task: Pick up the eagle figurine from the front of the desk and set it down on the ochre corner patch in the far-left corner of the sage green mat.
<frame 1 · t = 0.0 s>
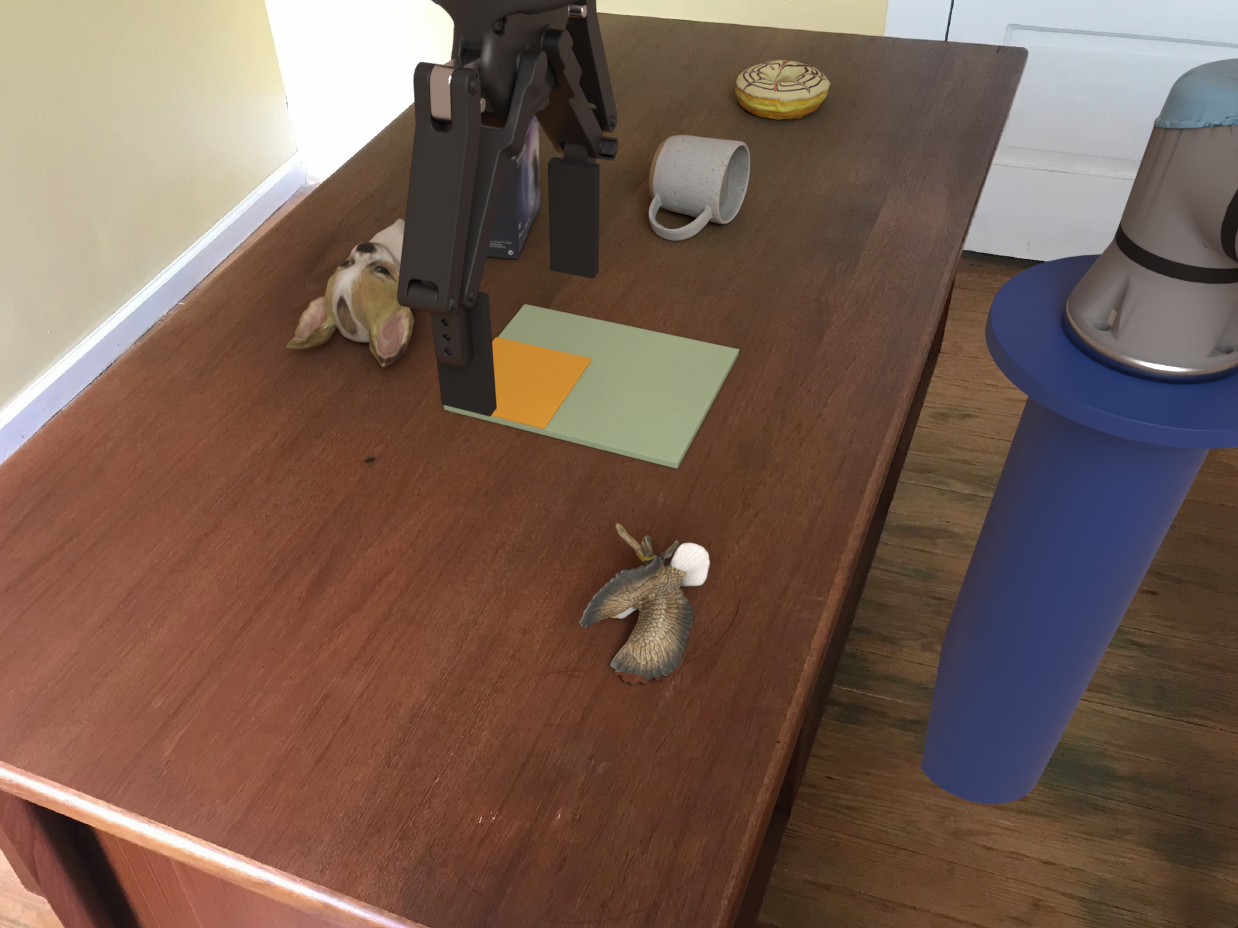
hand: (525, 334, 59), 22 cm above the table, tool pointing down, fingers open, 13 cm apart
corner mat: (594, 382, 92), on the table
decorated donut: (779, 106, 128), on the table
ceramic sculpture: (376, 333, 99), on the table
lemon: (548, 104, 132), on the table
ceramic mug: (692, 220, 110), on the table
small box: (501, 233, 110), on the table
eagle figurine: (641, 629, 72), on the table
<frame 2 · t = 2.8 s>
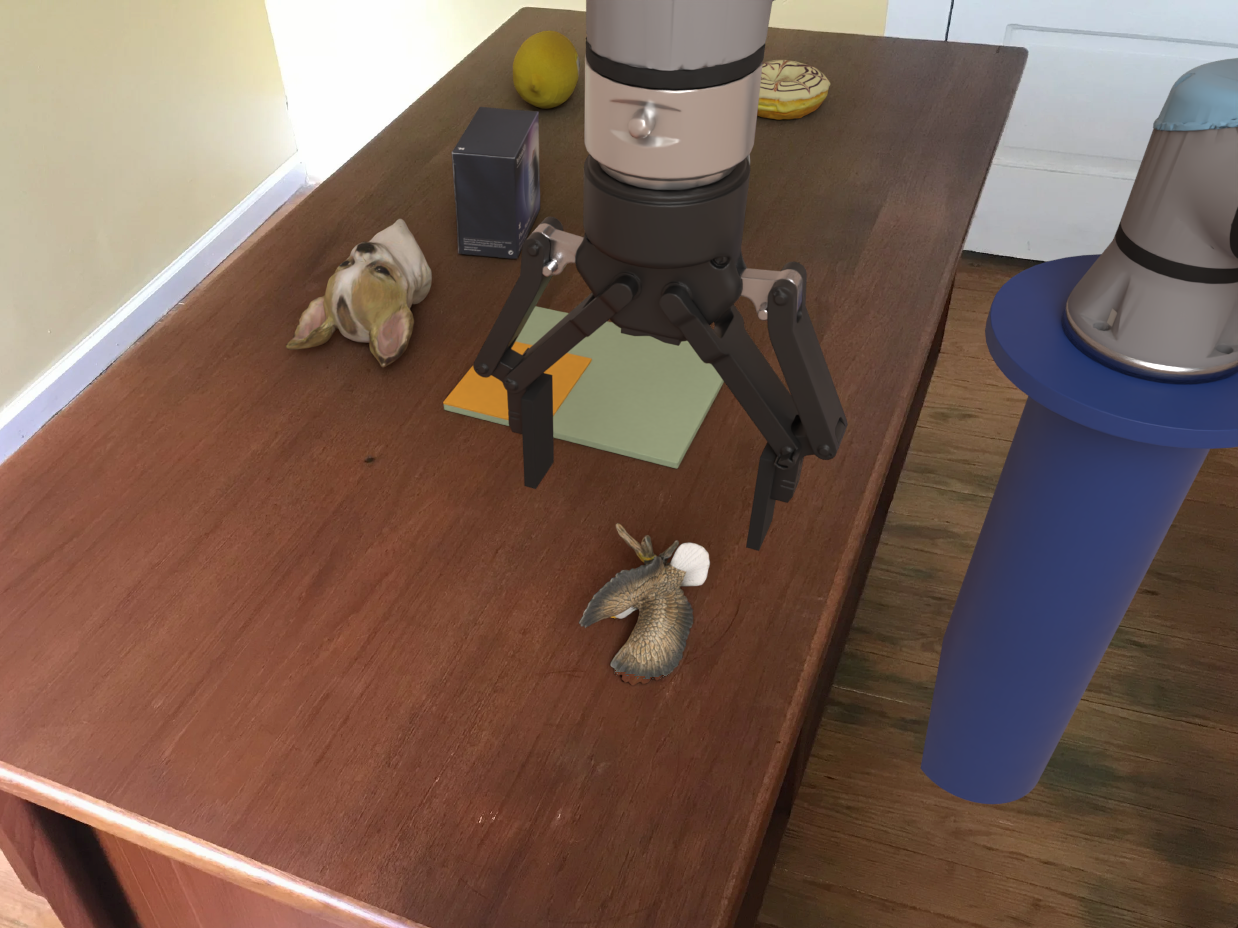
hand: (645, 503, 64), 11 cm above the table, tool pointing down, fingers open, 13 cm apart
nothing on the table moved.
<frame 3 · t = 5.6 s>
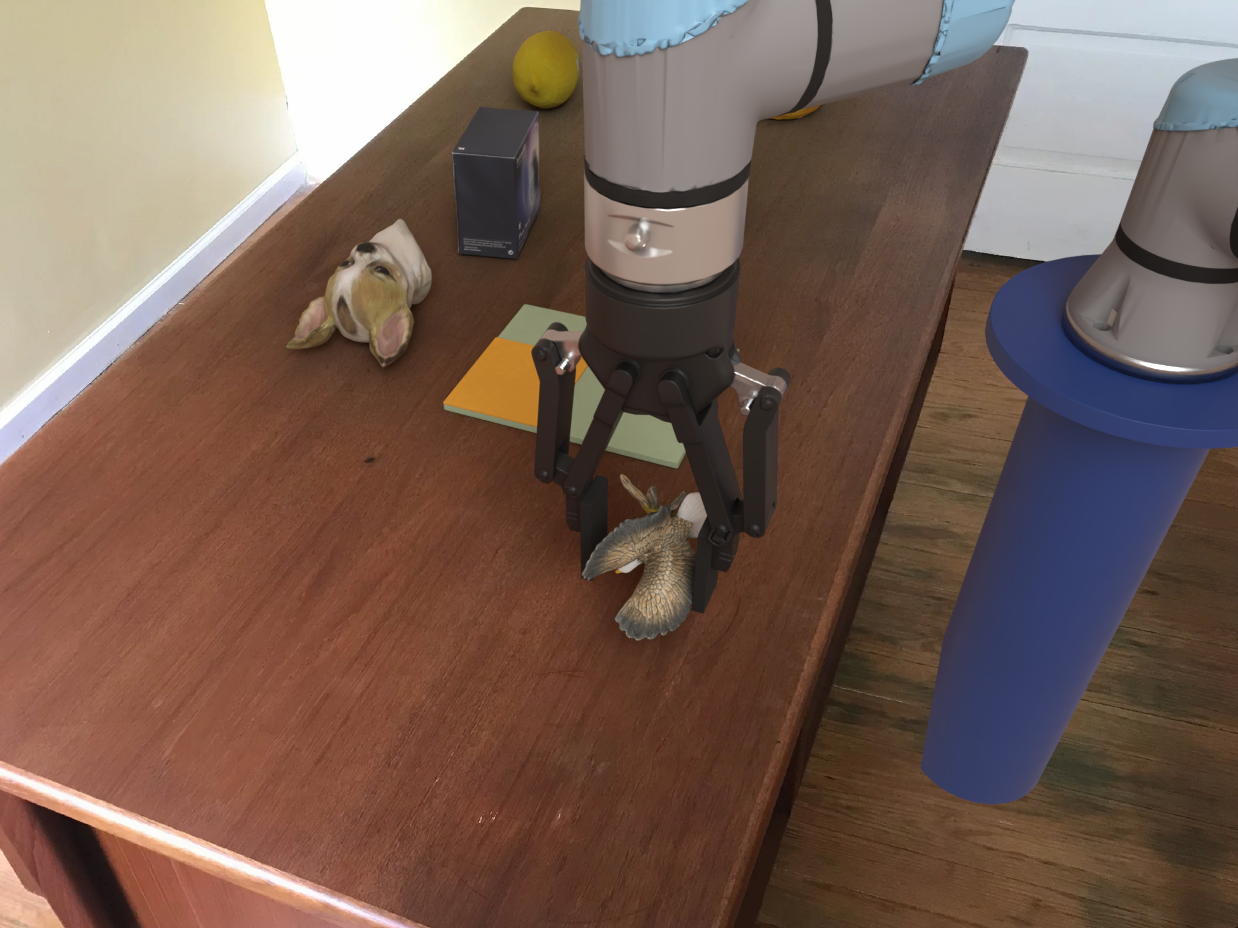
hand: (648, 580, 69), 4 cm above the table, tool pointing down, fingers closed on eagle figurine, 7 cm apart
eagle figurine: (647, 584, 70), point 4 cm above the table, touching gripper
everything else where it was.
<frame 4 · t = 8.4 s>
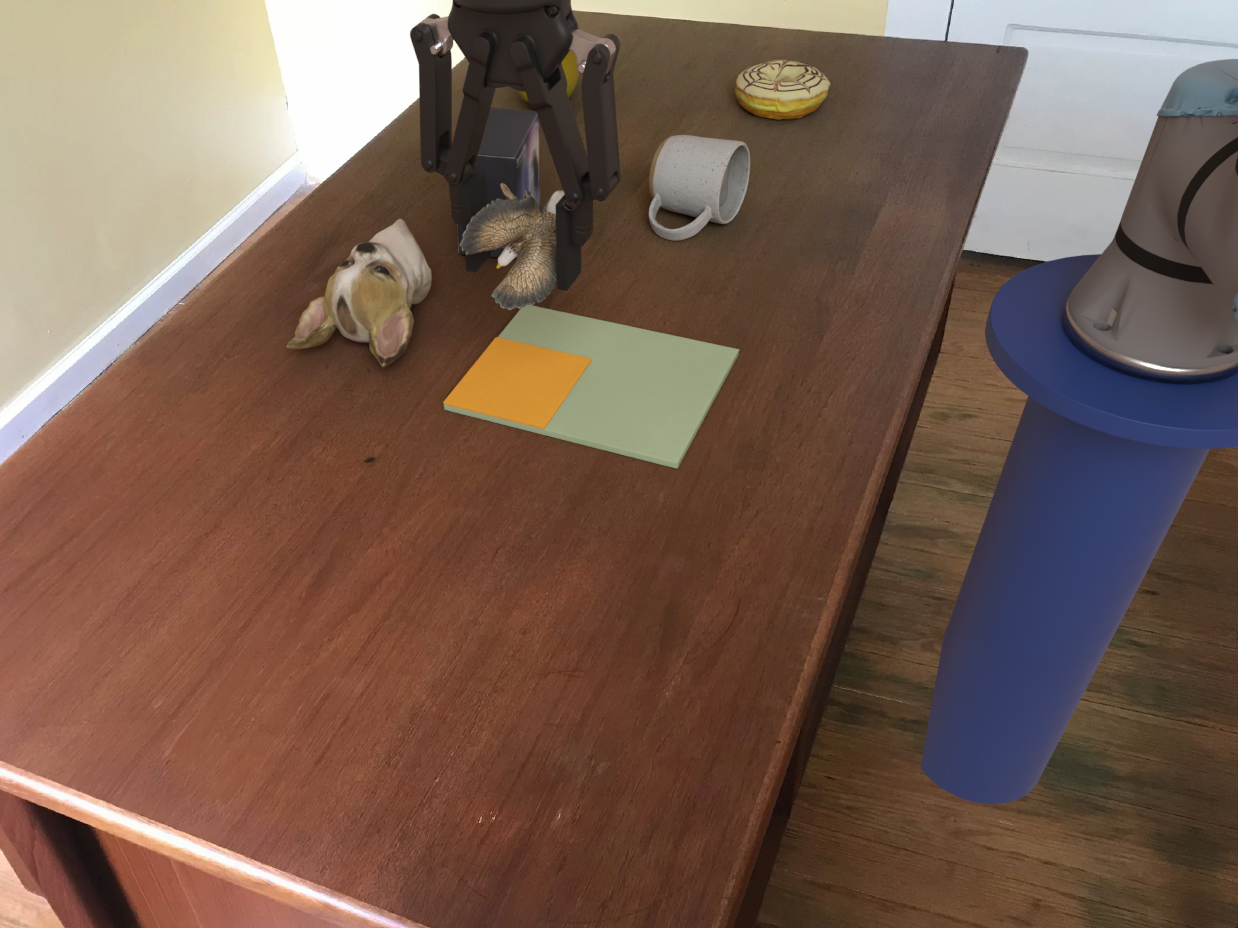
hand: (523, 271, 81), 13 cm above the table, tool pointing down, fingers closed on eagle figurine, 7 cm apart
eagle figurine: (523, 276, 81), point 12 cm above the table, touching gripper
everything else where it was.
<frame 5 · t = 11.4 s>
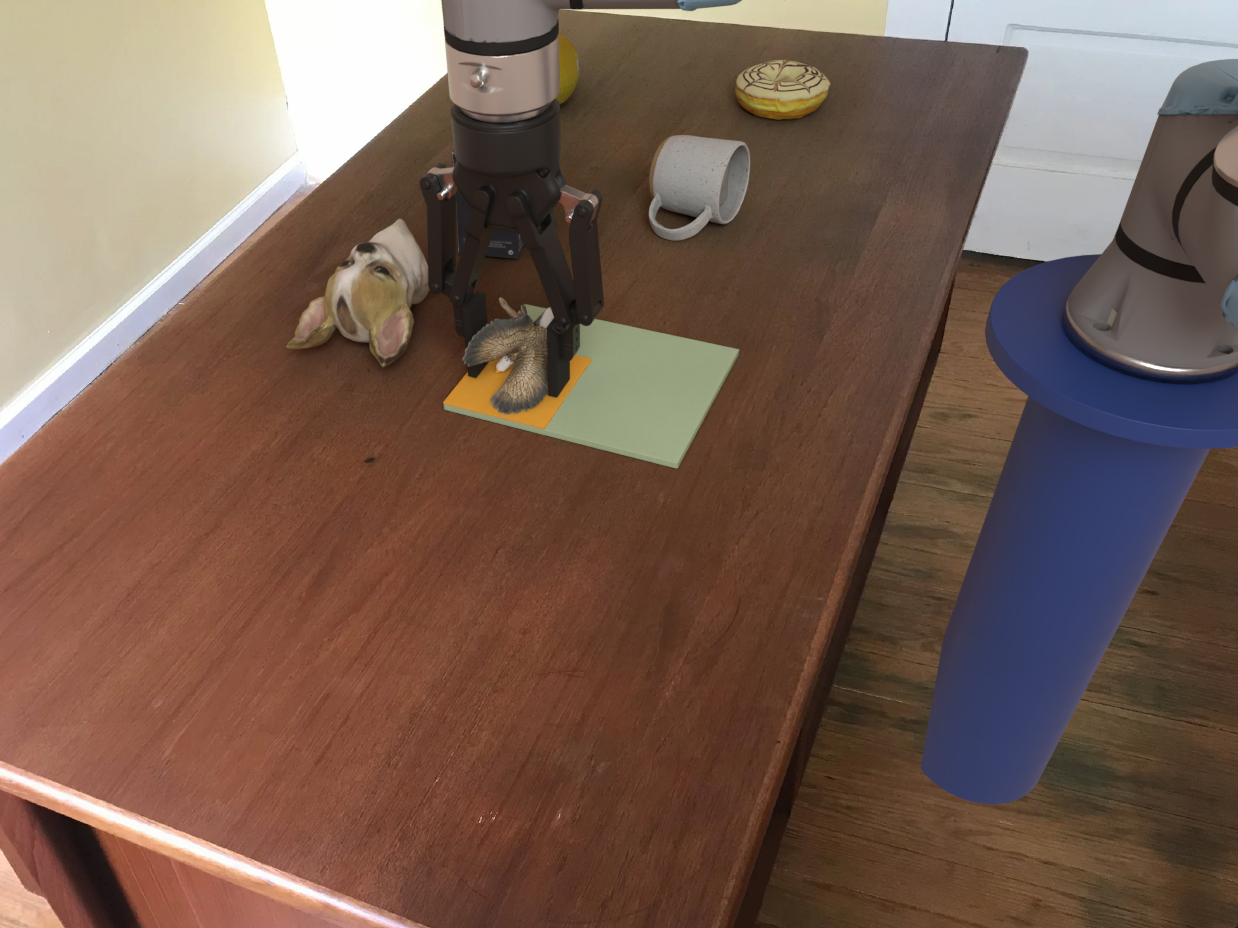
hand: (518, 377, 91), 1 cm above the table, tool pointing down, fingers closed on eagle figurine, 7 cm apart
eagle figurine: (518, 381, 91), point 1 cm above the table, touching corner mat, gripper
everything else where it was.
when the fingers open (1 cm above the table, at t = 11.4 s): eagle figurine stays where it is, resting on corner mat.
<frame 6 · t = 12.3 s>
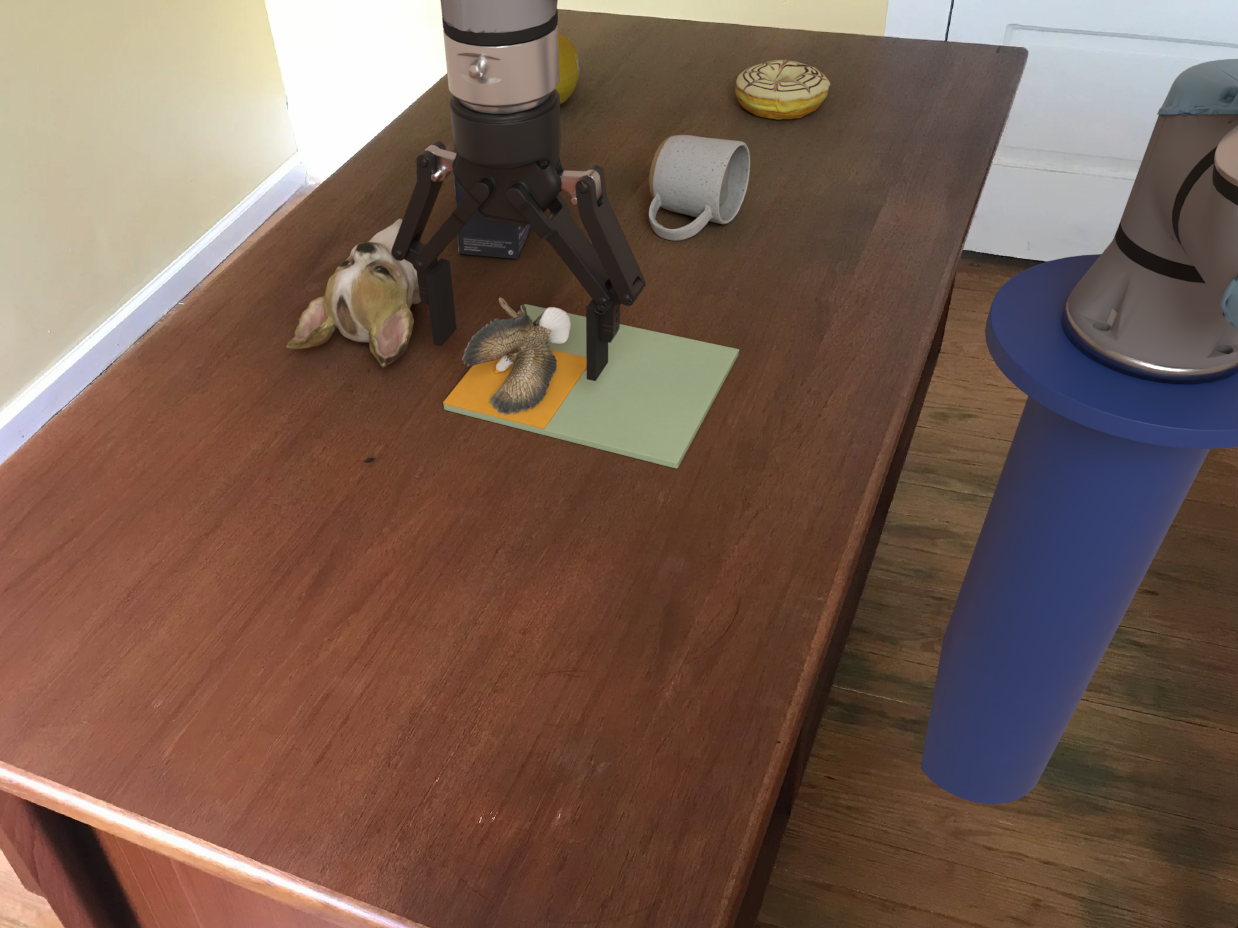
hand: (519, 353, 89), 3 cm above the table, tool pointing down, fingers open, 13 cm apart
eagle figurine: (518, 381, 91), point 1 cm above the table, touching corner mat
everything else where it was.
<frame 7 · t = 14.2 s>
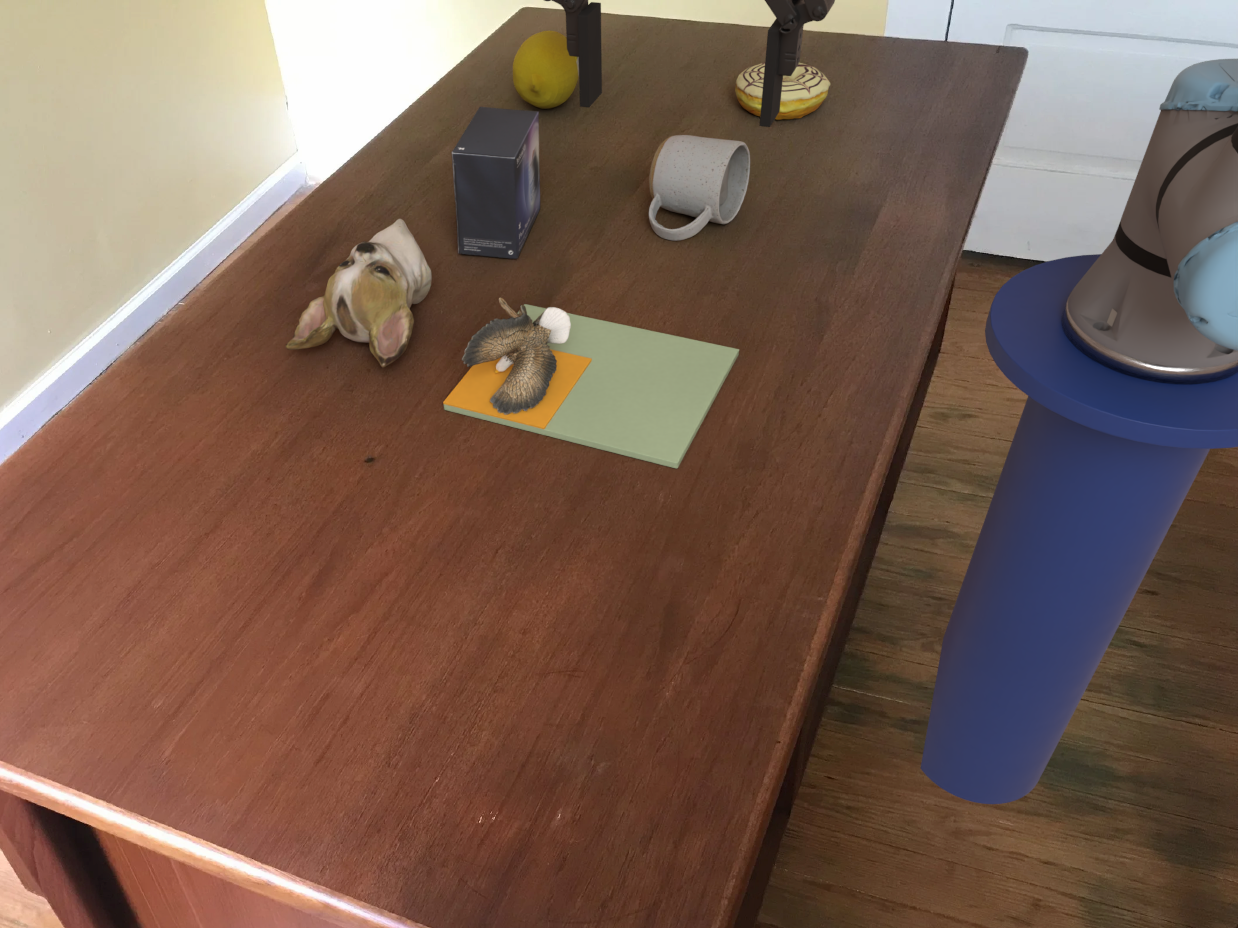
hand: (677, 109, 81), 20 cm above the table, tool pointing down, fingers open, 13 cm apart
nothing on the table moved.
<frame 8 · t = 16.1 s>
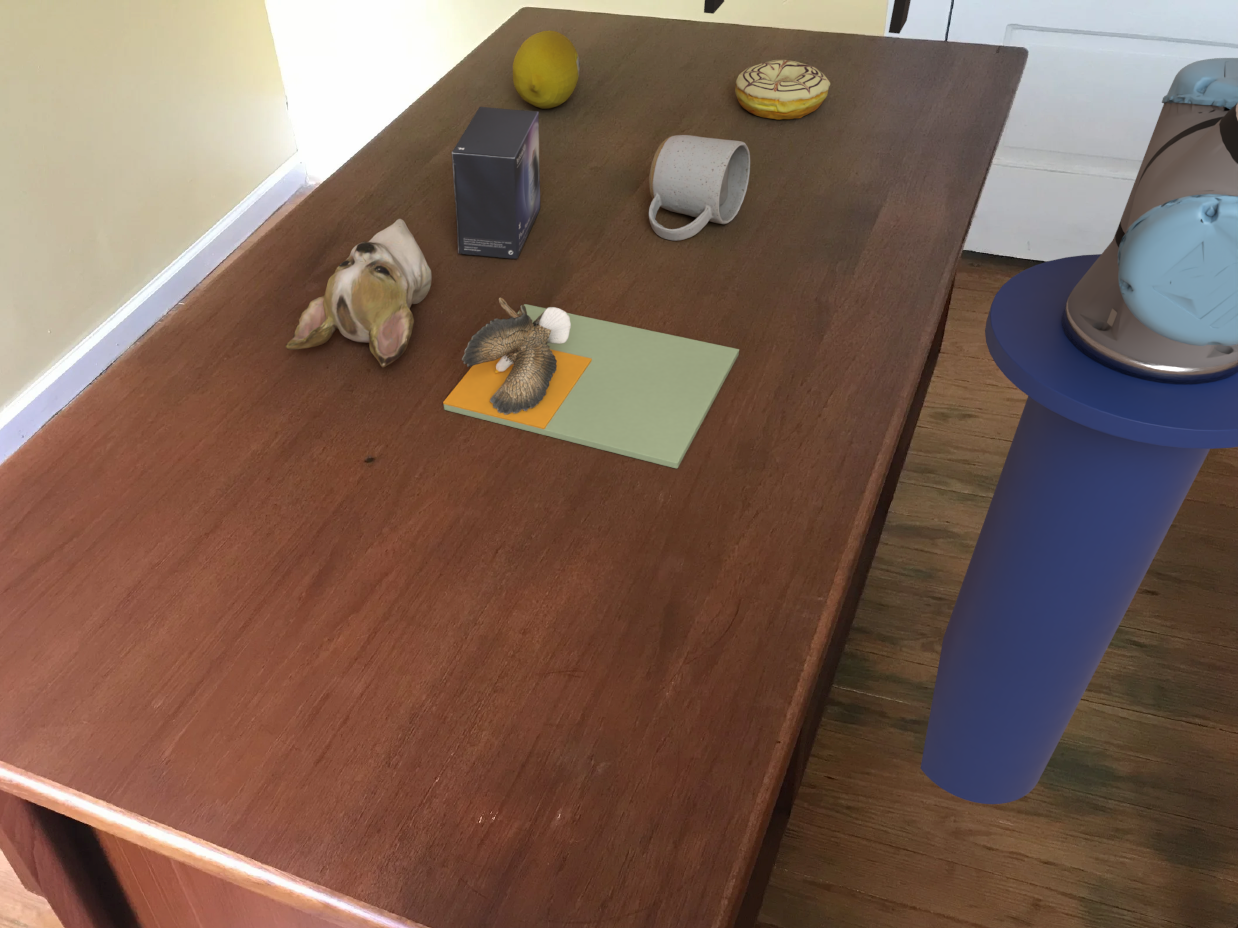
hand: (803, 17, 81), 25 cm above the table, tool pointing down, fingers open, 13 cm apart
nothing on the table moved.
at the end: eagle figurine inside the target area on the corner mat (0.9 cm from its centre), point 0.6 cm above the corner mat's base; eagle figurine tilted 0°; the gripper is holding nothing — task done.
